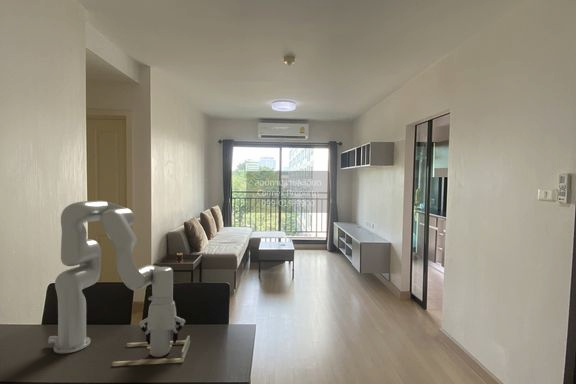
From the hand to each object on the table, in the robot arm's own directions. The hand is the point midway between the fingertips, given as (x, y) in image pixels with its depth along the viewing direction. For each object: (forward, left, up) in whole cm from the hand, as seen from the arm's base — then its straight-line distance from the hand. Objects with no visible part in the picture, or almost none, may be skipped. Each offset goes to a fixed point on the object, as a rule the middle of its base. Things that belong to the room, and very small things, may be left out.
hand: (162, 342), depth 128 cm
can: (-1, 0, -5) cm, 5 cm away
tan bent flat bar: (-3, 0, -4) cm, 5 cm away
